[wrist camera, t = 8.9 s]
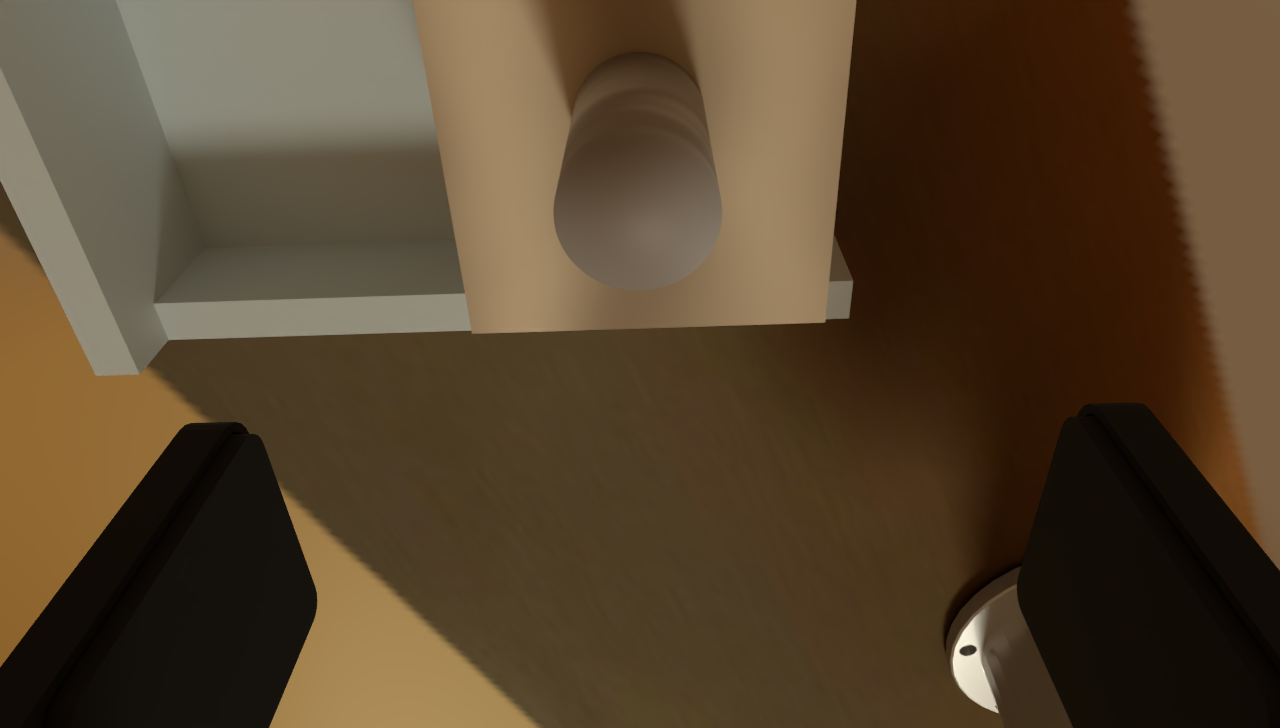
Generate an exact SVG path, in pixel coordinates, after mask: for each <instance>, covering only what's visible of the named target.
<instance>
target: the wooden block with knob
mask: <svg viewBox="0 0 1280 728" xmlns="http://www.w3.org/2000/svg"><path fill="white" fill-rule="evenodd" d="M413 5H414V10H415V16H416V22H417V27H418V33H419V38H420V44H421V50H422V55H423V61H424V66H425V72H426V78H427V83H428V89H429V94H430V100H431V106H432V111H433V117H434V123H435V128H436V134H437V139H438V145H439V151H440V156H441V162H442V167H443V173H444V179H445V184H446V190H447V195H448V201H449V207H450V212H451V218H452V223H453V229H454V235H455V240H456V246H457V251H458V257H459V263H460V268H461V274H462V279H463V285H464V291H465V296H466V302H467V307H468V313H469V319H470V324H471V330H472V334H477V333H509V332H541V331H573V330H605V329H636V328H668V327H700V326H732V325H764V324H796V323H825V318H826V308H827V297H828V287H829V277H830V267H831V256H832V246H833V236H834V226H835V215H836V205H837V195H838V185H839V174H840V164H841V154H842V144H843V133H844V123H845V113H846V103H847V92H848V82H849V72H850V62H851V51H852V41H853V31H854V21H855V10H856V0H413Z"/></svg>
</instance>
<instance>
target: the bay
mask: <svg viewBox="0 0 1280 728" xmlns="http://www.w3.org/2000/svg"><path fill="white" fill-rule="evenodd" d="M0 181H1V183H2V185H3V187H4V189H5V191H6V193H7V195H8V197H9V199H10V201H11V203H12V205H13V207H14V209H15V212H16V214H17V216H18V218H19V220H20V222H21V224H22V226H23V228H24V230H25V232H26V234H27V236H28V238H29V240H30V242H31V244H32V246H33V248H34V250H35V252H36V254H37V256H38V258H39V261H40V263H41V265H42V267H43V269H44V271H45V273H46V275H47V277H48V279H49V281H50V283H51V285H52V287H53V289H54V291H55V293H56V295H57V297H58V299H59V301H60V303H61V305H62V307H63V310H64V311H65V314H66V316H67V318H68V320H69V322H70V324H71V326H72V328H73V330H74V332H75V334H76V336H77V338H78V340H79V342H80V344H81V346H82V348H83V350H84V352H85V354H86V356H87V358H88V361H89V363H90V365H91V367H92V369H93V371H94V373H95V375H96V376H101V375H131V374H132V375H134V374H140V373H141V372H142V371H143V370H144V369H145V367H146V366H147V365H148V364H149V363H150V361H151V360H152V359H153V358H154V357H155V356H156V354H157V353H158V352H159V351H160V350H161V348H162V347H163V346H164V345H165V344H166V342H167V341H168V340H180V339H211V338H243V337H275V336H307V335H339V334H370V333H402V332H434V331H466V330H471V324H470V319H469V313H468V307H467V302H466V296H465V291H464V285H463V279H462V274H461V268H460V263H459V257H458V251H457V246H456V240H455V235H454V229H453V223H452V218H451V212H450V207H449V201H448V195H447V190H446V184H445V179H444V173H443V167H442V162H441V156H440V151H439V145H438V139H437V134H436V128H435V123H434V117H433V111H432V106H431V100H430V94H429V89H428V83H427V78H426V72H425V66H424V61H423V55H422V50H421V44H420V38H419V33H418V27H417V22H416V16H415V10H414V5H413V0H0ZM852 288H853V279H852V277H851V274H850V272H849V269H848V267H847V265H846V262H845V260H844V257H843V255H842V252H841V250H840V248H839V245H838V243H837V240H836V238H835V236H833V246H832V256H831V267H830V277H829V287H828V297H827V308H826V318H825V319H847V318H849V313H850V305H851V296H852Z"/></svg>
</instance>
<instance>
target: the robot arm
mask: <svg viewBox="0 0 1280 728" xmlns="http://www.w3.org/2000/svg"><path fill="white" fill-rule="evenodd" d="M316 609H317V592H316V588H315V585H314V582H313V580H312V577H311V575H310V571H309V569H308V566H307V563H306V561H305V558H304V555H303V552H302V549H301V546H300V543H299V541H298V538H297V535H296V532H295V530H294V527H293V524H292V521H291V519H290V516H289V513H288V510H287V508H286V505H285V502H284V499H283V496H282V494H281V491H280V488H279V485H278V482H277V480H276V477H275V474H274V471H273V469H272V466H271V463H270V460H269V458H268V455H267V452H266V449H265V446H264V444H263V442H262V440H261V438H260V437H259V436H258V435H255V434H249V433H248V431H247V429H246V428H245V427H244V426H243V425H242V424H241V423H237V422H219V423H190V424H187V425H185V426H184V427H183V428H182V429H180V430H179V432H178V433H177V434H176V436H175V437H174V438H173V440H172V441H171V442H170V444H169V445H168V446H167V448H166V449H165V450H164V451H163V453H162V454H161V455H160V457H159V458H158V460H157V461H156V462H155V464H154V465H153V466H152V467H151V469H150V470H149V471H148V473H147V474H146V475H145V477H144V478H143V479H142V481H141V482H140V483H139V485H138V486H137V487H136V489H135V490H134V491H133V493H132V494H131V495H130V497H129V498H128V499H127V501H126V502H125V503H124V504H123V506H122V507H121V508H120V510H119V511H118V512H117V514H116V515H115V516H114V518H113V519H112V520H111V522H110V523H109V524H108V526H107V527H106V528H105V530H104V531H103V532H102V534H101V535H100V536H99V538H98V539H97V540H96V542H95V543H94V544H93V546H92V547H91V548H90V550H89V551H88V552H87V554H86V555H85V556H84V557H83V559H82V560H81V561H80V563H79V564H78V566H77V567H76V568H75V569H74V571H73V572H72V573H71V575H70V576H69V577H68V579H67V580H66V581H65V583H64V584H63V585H62V587H61V588H60V589H59V591H58V592H57V593H56V594H55V596H54V597H53V598H52V600H51V601H50V602H49V604H48V605H47V606H46V608H45V609H44V611H43V612H42V613H41V614H40V616H39V617H38V618H37V620H36V621H35V622H34V624H33V625H32V626H31V627H30V629H29V630H28V632H27V633H26V634H25V636H24V637H23V638H22V639H21V641H20V642H19V643H18V645H17V646H16V647H15V649H14V650H13V651H12V653H11V654H10V655H9V657H8V658H7V659H6V661H5V662H4V663H3V665H2V666H1V667H0V728H269V726H270V724H271V721H272V719H273V717H274V714H275V712H276V710H277V707H278V705H279V702H280V700H281V698H282V695H283V693H284V690H285V688H286V685H287V683H288V681H289V678H290V676H291V674H292V671H293V669H294V666H295V664H296V662H297V659H298V657H299V654H300V652H301V650H302V647H303V645H304V643H305V640H306V637H307V635H308V633H309V631H310V628H311V626H312V623H313V621H314V618H315V614H316ZM946 656H947V660H948V663H949V666H950V670H951V673H952V676H953V678H954V680H955V682H956V684H957V686H958V687H959V688H960V689H961V691H962V692H963V693H964V694H965V695H966V696H967V697H968V698H970V699H971V700H973V701H974V702H976V703H977V704H979V705H980V706H982V707H984V708H987V709H989V710H991V711H994V712H997V713H999V714H1000V717H1001V720H1002V722H1003V725H1004V728H1280V571H1279V569H1278V568H1277V567H1276V566H1275V564H1274V563H1273V562H1272V561H1271V559H1270V558H1269V557H1268V556H1267V554H1266V553H1265V552H1264V551H1263V550H1262V548H1261V547H1260V546H1259V545H1258V543H1257V542H1256V541H1255V540H1254V538H1253V537H1252V536H1251V535H1250V533H1249V532H1248V531H1247V530H1246V528H1245V527H1244V526H1243V525H1242V523H1241V522H1240V521H1239V520H1238V518H1237V517H1236V516H1235V515H1234V514H1233V512H1232V511H1231V510H1230V509H1229V507H1228V506H1227V505H1226V504H1225V502H1224V501H1223V500H1222V499H1221V497H1220V496H1219V495H1218V494H1217V492H1216V491H1215V490H1214V489H1213V487H1212V486H1211V485H1210V484H1209V482H1208V481H1207V480H1206V479H1205V478H1204V476H1203V475H1202V474H1201V473H1200V471H1199V470H1198V469H1197V468H1196V466H1195V465H1194V464H1193V463H1192V461H1191V460H1190V459H1189V458H1188V456H1187V455H1186V454H1185V453H1184V451H1183V450H1182V449H1181V448H1180V446H1179V445H1178V444H1177V443H1176V442H1175V440H1174V439H1173V438H1172V437H1171V435H1170V434H1169V433H1168V432H1167V430H1166V429H1165V428H1164V427H1163V425H1162V424H1161V423H1160V422H1159V420H1158V419H1157V418H1156V417H1155V415H1154V414H1153V413H1152V412H1151V410H1150V409H1148V408H1147V407H1146V406H1145V405H1143V404H1140V403H1104V404H1088V405H1085V406H1084V407H1083V408H1082V409H1081V410H1080V411H1079V413H1078V416H1077V417H1070V418H1067V419H1066V421H1065V422H1064V424H1063V426H1062V429H1061V432H1060V436H1059V439H1058V442H1057V446H1056V449H1055V453H1054V456H1053V459H1052V463H1051V466H1050V470H1049V473H1048V476H1047V480H1046V483H1045V487H1044V490H1043V493H1042V497H1041V500H1040V504H1039V507H1038V510H1037V514H1036V517H1035V521H1034V524H1033V527H1032V531H1031V534H1030V538H1029V541H1028V545H1027V548H1026V551H1025V555H1024V558H1023V562H1022V565H1021V566H1020V567H1018V568H1015V569H1013V570H1011V571H1010V572H1008V573H1006V574H1004V575H1002V576H1001V577H999V578H997V579H995V580H994V581H992V582H991V583H989V584H988V585H987V586H986V587H984V588H983V589H982V590H980V591H979V592H978V593H976V594H975V595H974V596H973V597H972V598H971V599H970V600H969V602H968V603H967V604H966V605H965V606H964V607H963V608H962V609H961V610H960V612H959V613H958V615H957V616H956V618H955V620H954V621H953V623H952V624H951V627H950V630H949V633H948V636H947V639H946Z"/></svg>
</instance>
